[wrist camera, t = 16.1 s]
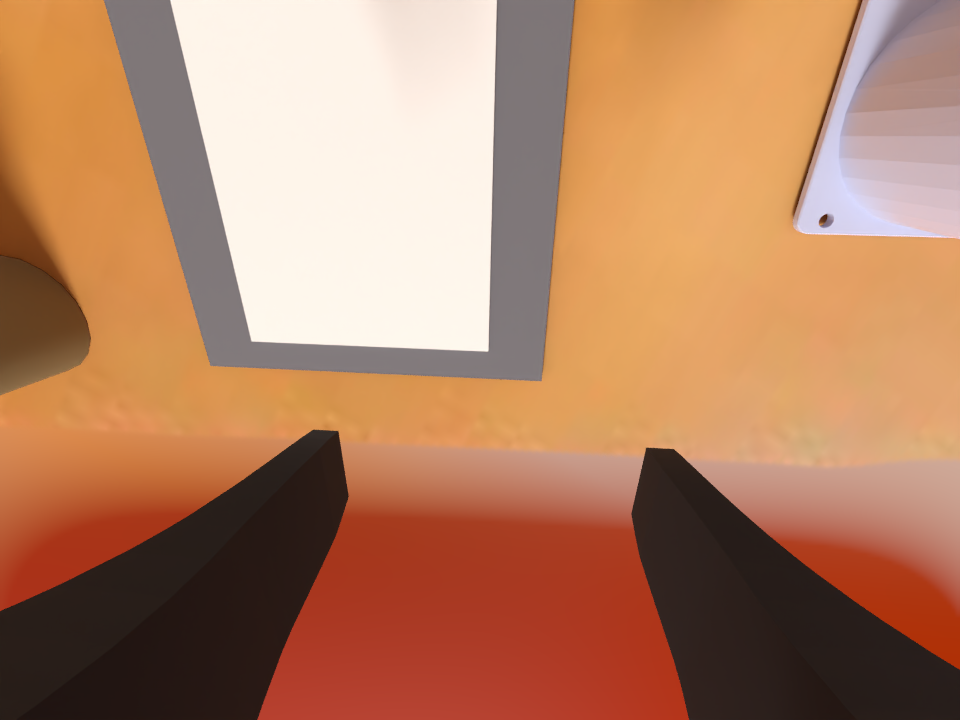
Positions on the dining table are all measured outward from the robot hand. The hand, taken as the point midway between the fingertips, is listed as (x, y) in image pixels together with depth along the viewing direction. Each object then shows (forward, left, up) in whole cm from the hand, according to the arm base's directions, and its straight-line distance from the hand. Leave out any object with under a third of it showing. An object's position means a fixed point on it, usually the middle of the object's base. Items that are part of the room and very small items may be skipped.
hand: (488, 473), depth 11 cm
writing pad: (+6, -5, -10) cm, 13 cm away
